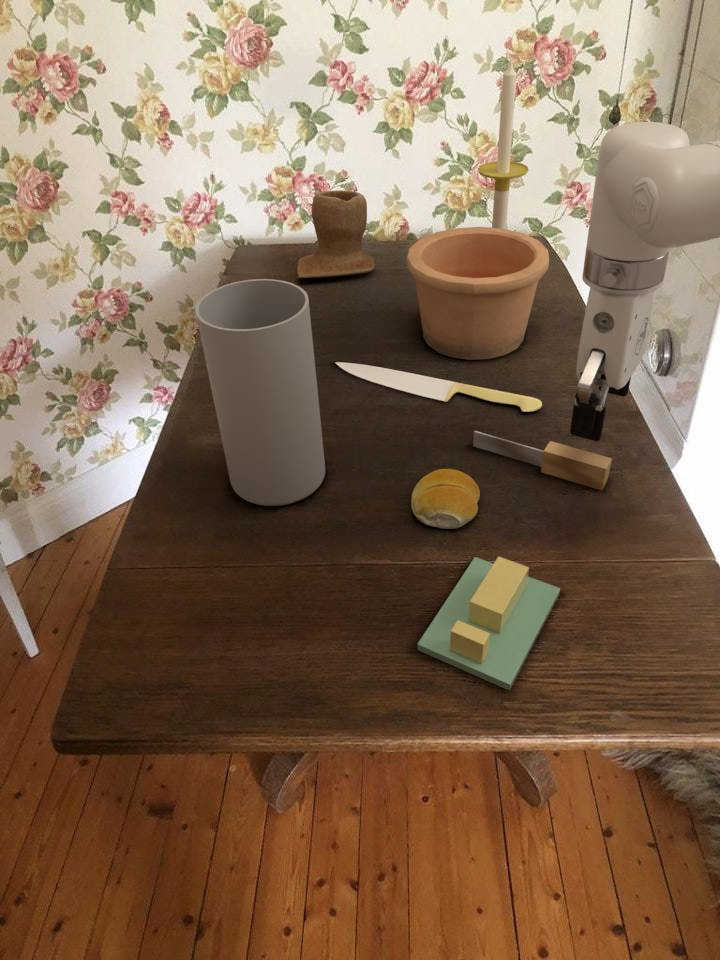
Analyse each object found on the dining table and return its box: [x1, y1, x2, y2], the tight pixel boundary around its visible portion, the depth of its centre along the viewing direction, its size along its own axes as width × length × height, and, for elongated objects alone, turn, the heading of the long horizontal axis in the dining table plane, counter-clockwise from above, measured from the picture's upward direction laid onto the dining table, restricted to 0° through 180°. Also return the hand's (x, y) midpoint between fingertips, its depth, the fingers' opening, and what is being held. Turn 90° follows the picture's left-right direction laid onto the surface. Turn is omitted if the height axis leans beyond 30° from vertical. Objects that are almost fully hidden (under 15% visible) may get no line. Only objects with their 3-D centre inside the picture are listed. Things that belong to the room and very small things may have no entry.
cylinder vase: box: [194, 278, 326, 507], centre depth 91 cm, size 12×12×25 cm
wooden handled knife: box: [472, 430, 613, 491], centre depth 97 cm, size 18×2×4 cm, turn 59°
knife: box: [334, 361, 543, 413], centre depth 114 cm, size 1×34×5 cm
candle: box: [477, 55, 530, 230], centre depth 130 cm, size 10×10×38 cm
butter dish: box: [416, 555, 561, 691], centre depth 78 cm, size 10×14×4 cm
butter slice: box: [450, 620, 490, 663], centre depth 74 cm, size 4×2×3 cm, turn 59°
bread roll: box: [410, 468, 481, 530], centre depth 92 cm, size 8×9×4 cm
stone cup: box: [296, 189, 375, 279], centre depth 144 cm, size 15×12×15 cm
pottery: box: [406, 226, 550, 361], centre depth 121 cm, size 22×22×14 cm
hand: (599, 414), depth 83 cm, fingers open, 9 cm apart
